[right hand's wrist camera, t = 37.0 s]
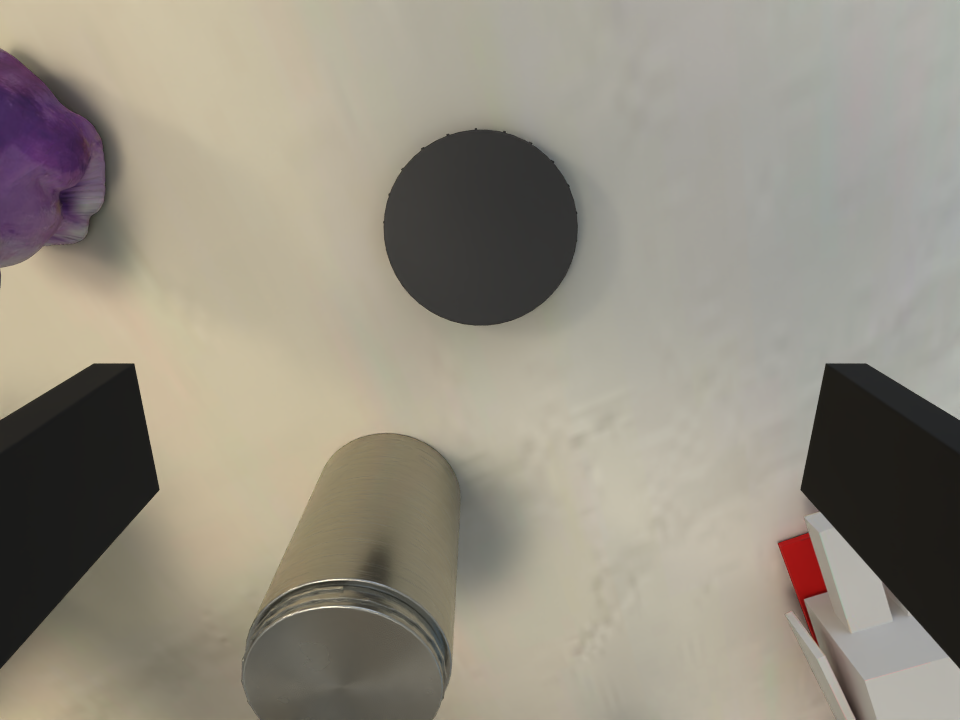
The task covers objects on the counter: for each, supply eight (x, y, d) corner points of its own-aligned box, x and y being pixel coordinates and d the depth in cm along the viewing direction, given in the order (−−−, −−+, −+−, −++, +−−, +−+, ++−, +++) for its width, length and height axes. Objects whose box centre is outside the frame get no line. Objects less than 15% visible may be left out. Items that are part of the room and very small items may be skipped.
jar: (346, 411, 42) (271, 569, 27) (483, 464, 43) (484, 643, 28) (299, 527, 45) (209, 727, 30) (428, 573, 46) (404, 786, 31)
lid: (426, 342, 40) (424, 350, 39) (357, 167, 36) (352, 169, 35) (596, 286, 39) (600, 292, 37) (542, 99, 35) (544, 97, 34)
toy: (1031, 520, 33) (1133, 941, 39) (886, 435, 46) (978, 759, 52) (802, 590, 35) (931, 984, 40) (724, 488, 48) (830, 797, 53)
